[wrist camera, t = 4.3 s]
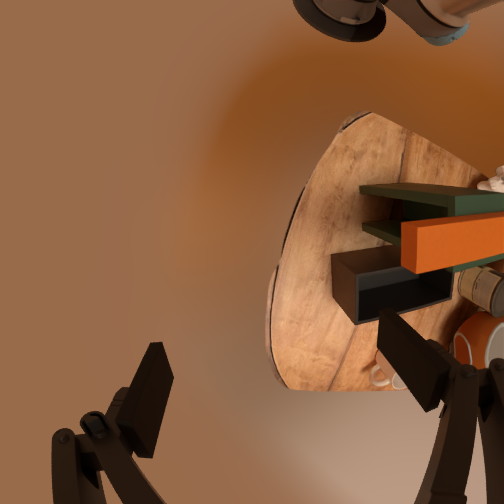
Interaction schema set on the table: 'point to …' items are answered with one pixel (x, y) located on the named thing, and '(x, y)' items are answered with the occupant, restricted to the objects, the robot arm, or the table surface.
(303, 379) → the table surface
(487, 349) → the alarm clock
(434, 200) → the stand
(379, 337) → the robot arm
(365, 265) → the black open rectangular box
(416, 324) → the table surface
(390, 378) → the mug
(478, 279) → the coffee can
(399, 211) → the table surface
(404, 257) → the orange rectangular bar
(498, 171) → the white skull
